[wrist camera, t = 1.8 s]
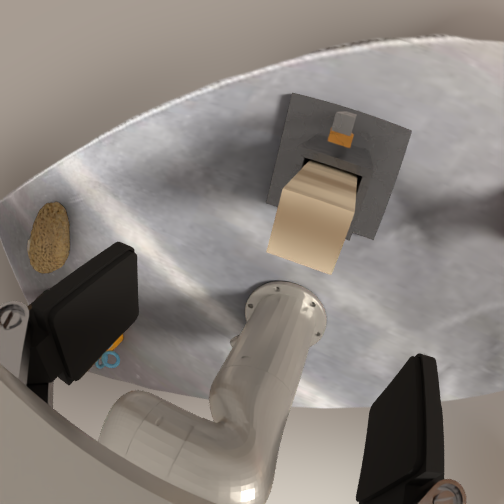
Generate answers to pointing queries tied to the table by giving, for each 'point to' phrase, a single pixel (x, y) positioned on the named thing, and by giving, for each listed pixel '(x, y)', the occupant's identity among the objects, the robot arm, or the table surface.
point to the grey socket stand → (342, 154)
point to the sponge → (49, 239)
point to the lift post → (314, 216)
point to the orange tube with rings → (110, 351)
